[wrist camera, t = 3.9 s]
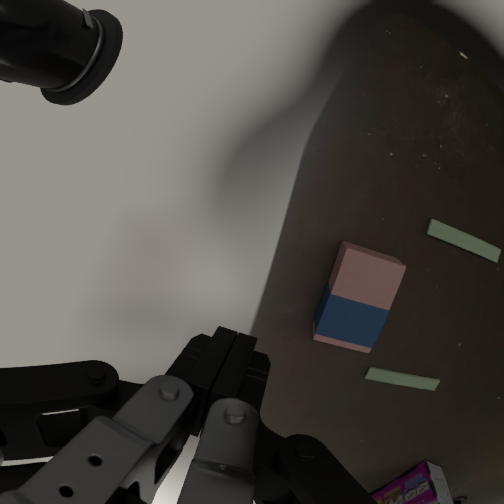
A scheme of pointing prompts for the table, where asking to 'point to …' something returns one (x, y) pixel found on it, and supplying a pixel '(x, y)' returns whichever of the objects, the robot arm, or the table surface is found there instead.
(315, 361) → the table surface
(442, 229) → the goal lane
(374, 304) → the eraser
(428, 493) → the candy bar box
